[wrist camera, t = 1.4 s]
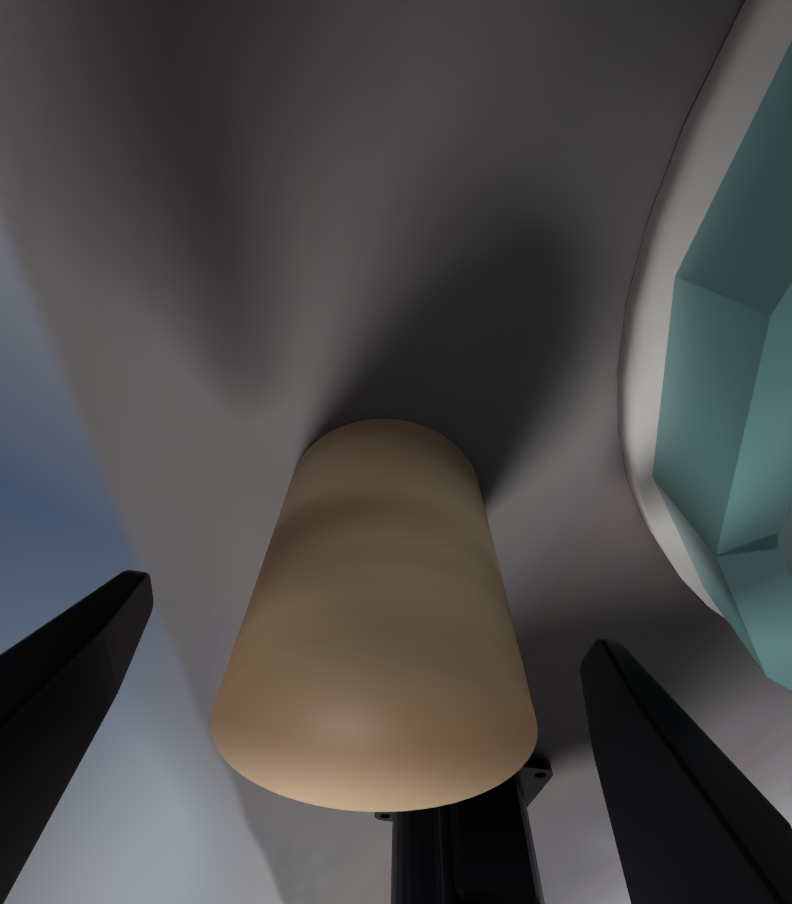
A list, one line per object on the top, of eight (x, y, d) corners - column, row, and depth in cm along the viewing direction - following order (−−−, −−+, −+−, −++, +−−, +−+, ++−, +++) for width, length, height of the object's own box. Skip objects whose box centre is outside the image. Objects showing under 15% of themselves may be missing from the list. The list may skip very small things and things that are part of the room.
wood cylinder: (451, 578, 14) (482, 822, 9) (284, 554, 13) (212, 798, 8) (505, 438, 11) (593, 670, 6) (299, 401, 11) (205, 619, 6)
